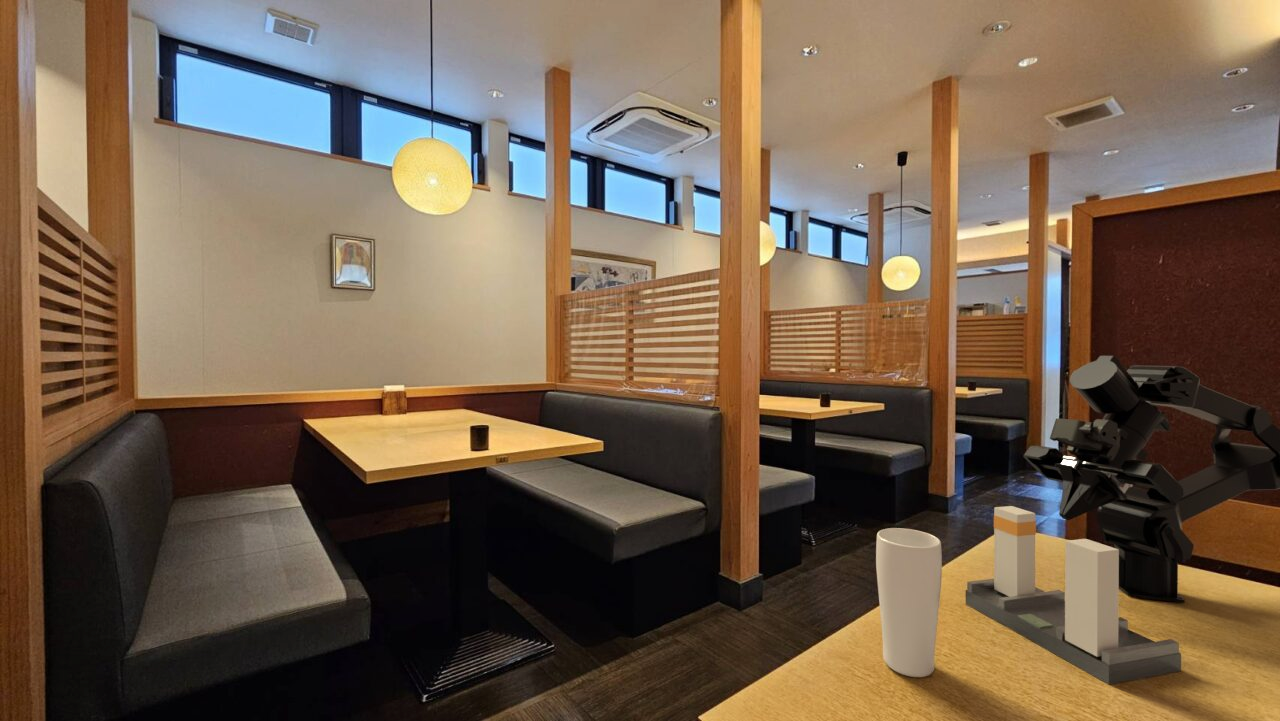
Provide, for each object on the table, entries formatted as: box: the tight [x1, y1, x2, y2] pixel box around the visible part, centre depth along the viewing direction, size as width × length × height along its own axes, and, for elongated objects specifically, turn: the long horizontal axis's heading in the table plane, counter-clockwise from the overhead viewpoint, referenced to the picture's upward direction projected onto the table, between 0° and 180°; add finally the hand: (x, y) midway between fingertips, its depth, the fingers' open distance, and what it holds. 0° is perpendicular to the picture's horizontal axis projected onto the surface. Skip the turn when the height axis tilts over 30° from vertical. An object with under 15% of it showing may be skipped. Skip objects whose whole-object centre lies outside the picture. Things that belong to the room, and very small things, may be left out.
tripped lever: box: [993, 505, 1037, 597], centre depth 75 cm, size 3×4×12 cm
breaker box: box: [965, 578, 1182, 685], centre depth 69 cm, size 10×19×3 cm, turn 13°
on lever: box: [1064, 538, 1120, 657], centre depth 62 cm, size 3×4×12 cm
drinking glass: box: [875, 527, 943, 678], centre depth 62 cm, size 7×7×15 cm
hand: (1063, 517), depth 77 cm, fingers closed
